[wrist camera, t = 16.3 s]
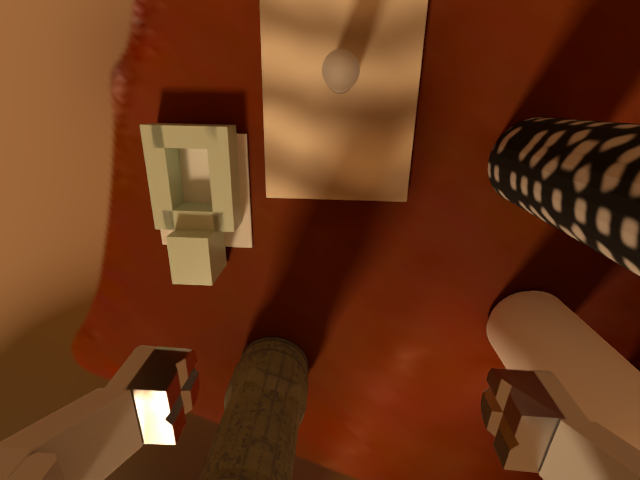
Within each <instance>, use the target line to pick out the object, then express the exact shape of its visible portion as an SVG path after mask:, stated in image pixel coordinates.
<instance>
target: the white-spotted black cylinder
mask: <svg viewBox="0 0 640 480" xmlns="http://www.w3.org/2000/svg"><path fill="white" fill-rule="evenodd" d="M488 174H489V179H490V182H491V184H492V186H493V188H494V189H495V191H496V192H497V193H498V194H499V195H500V196H502V197H503V198H505V199H507V200H509V201H510V202H512V203H514V204H515V205H517V206H519V207H521V208H522V209H524V210H526V211H528V212H529V213H531V214H533V215H535V216H536V217H538V218H540V219H542V220H543V221H545V222H547V223H549V224H550V225H552V226H554V227H555V228H557V229H559V230H561V231H562V232H564V233H566V234H568V235H569V236H571V237H573V238H575V239H576V240H578V241H580V242H582V243H583V244H585V245H587V246H589V247H590V248H592V249H594V250H595V251H597V252H599V253H601V254H602V255H604V256H606V257H608V258H609V259H611V260H613V261H615V262H616V263H618V264H620V265H622V266H623V267H625V268H627V269H628V270H630V271H632V272H634V273H635V274H637V275H639V276H640V124H630V123H616V122H602V121H588V120H574V119H560V118H545V117H538V118H531V119H527V120H524V121H521V122H519V123H517V124H515V125H514V126H512V127H511V128H509V129H508V130H507V131H506V132H505V133H504V134H503V135H502V136H501V137H500V138H499V139H498V141H497V142H496V144H495V145H494V147H493V149H492V152H491V154H490V158H489V162H488Z"/></svg>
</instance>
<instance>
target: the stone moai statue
mask: <svg viewBox="0 0 640 480" xmlns="http://www.w3.org/2000/svg"><path fill="white" fill-rule="evenodd" d="M308 370H309V368H308V360H307V358H306V356H305V354H304V352H303V351H302V350H301V349H300V348H299V347H298V346H297V345H296V344H294V343H292V342H291V341H289V340H287V339H283V338H279V337H264V338H261V339H258V340H255V341H254V342H252V343H251V344H249V345H248V346H247V347H246V349H245V350H244V352H243V353H242V356H241V360H240V362H239V363H238V364H237V366H236V368H235V370H234V373H233V375H232V378H231V380H230V383H229V385H228V388H227V391H226V394H225V399H224V409H225V411H224V413H223V416H222V419H221V421H220V424H219V427H218V430H217V432H216V435H215V438H214V440H213V443H212V446H211V448H210V452H209V454H208V456H207V459H206V462H205V465H204V467H203V470H202V473H201V475H200V478H199V480H292V474H293V466H294V458H295V450H296V442H297V434H298V427H299V425H300V423H301V422H302V420H303V417H304V414H305V410H306V401H307V392H308V376H307V375H308Z"/></svg>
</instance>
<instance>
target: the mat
mask: <svg viewBox="0 0 640 480" xmlns="http://www.w3.org/2000/svg"><path fill="white" fill-rule="evenodd" d="M178 150H179V159H180V168H181V176H182V185H183V193H184V202H185V203H207V204H212V198H211V187H210V175H209V164H208V153H207V149H186V148H178ZM237 150H238V166H239V183H240V200H241V217H242V223H241V224H240V226H239V227H238V228H237V229H236V231H235V232H224V236H225V247H248V248H252V247H253V244H252V224H251V204H250V184H249V164H248V144H247V134H237ZM160 230H161V237H162V244H165V245H167V240H166V236H168V235H169V234H170V233H172V232H173V231H174V230H163V229H160Z"/></svg>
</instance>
